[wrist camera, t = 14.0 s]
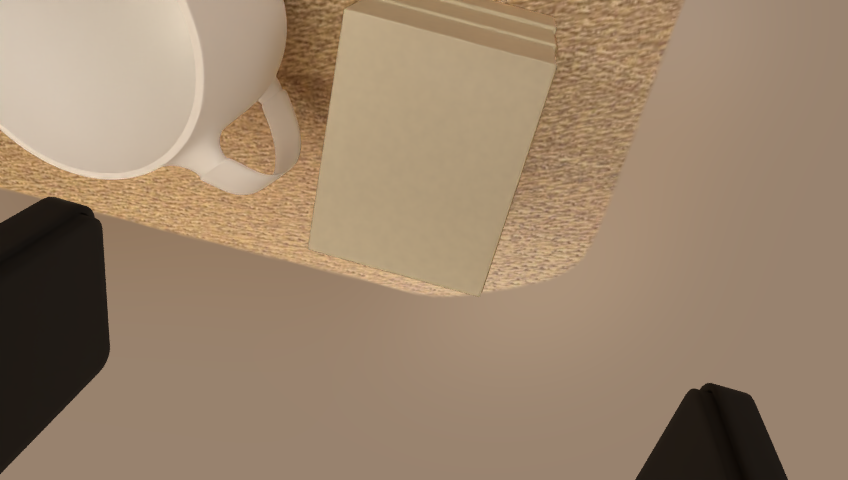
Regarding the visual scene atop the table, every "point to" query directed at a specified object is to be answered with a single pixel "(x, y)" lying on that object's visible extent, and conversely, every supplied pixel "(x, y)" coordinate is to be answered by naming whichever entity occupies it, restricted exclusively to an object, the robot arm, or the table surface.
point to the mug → (144, 85)
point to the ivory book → (425, 143)
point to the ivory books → (491, 17)
